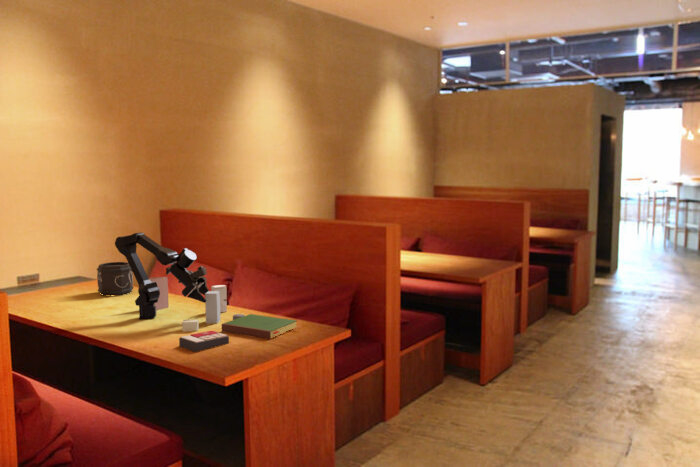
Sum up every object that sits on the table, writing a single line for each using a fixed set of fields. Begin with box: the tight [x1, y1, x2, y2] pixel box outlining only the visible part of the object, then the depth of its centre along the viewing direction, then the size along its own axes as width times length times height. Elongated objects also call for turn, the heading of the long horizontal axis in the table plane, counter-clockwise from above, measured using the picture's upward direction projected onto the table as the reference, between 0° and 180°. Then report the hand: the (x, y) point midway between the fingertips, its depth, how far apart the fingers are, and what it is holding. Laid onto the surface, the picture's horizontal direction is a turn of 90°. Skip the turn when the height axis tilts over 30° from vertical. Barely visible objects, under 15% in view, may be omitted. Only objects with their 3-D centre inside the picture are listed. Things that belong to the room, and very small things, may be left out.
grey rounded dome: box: [232, 313, 246, 320], centre depth 263 cm, size 5×5×3 cm
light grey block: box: [204, 290, 221, 324], centre depth 263 cm, size 5×5×13 cm
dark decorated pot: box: [96, 261, 135, 296], centre depth 325 cm, size 18×18×16 cm
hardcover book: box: [221, 313, 297, 340], centre depth 250 cm, size 25×19×4 cm
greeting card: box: [148, 276, 170, 311], centre depth 286 cm, size 11×7×15 cm, turn 108°
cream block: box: [181, 318, 200, 333], centre depth 251 cm, size 6×4×4 cm, turn 96°
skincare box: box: [210, 284, 228, 313], centre depth 282 cm, size 6×4×12 cm
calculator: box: [178, 330, 230, 353], centre depth 230 cm, size 11×4×15 cm
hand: (208, 299), depth 263 cm, fingers open, 9 cm apart
